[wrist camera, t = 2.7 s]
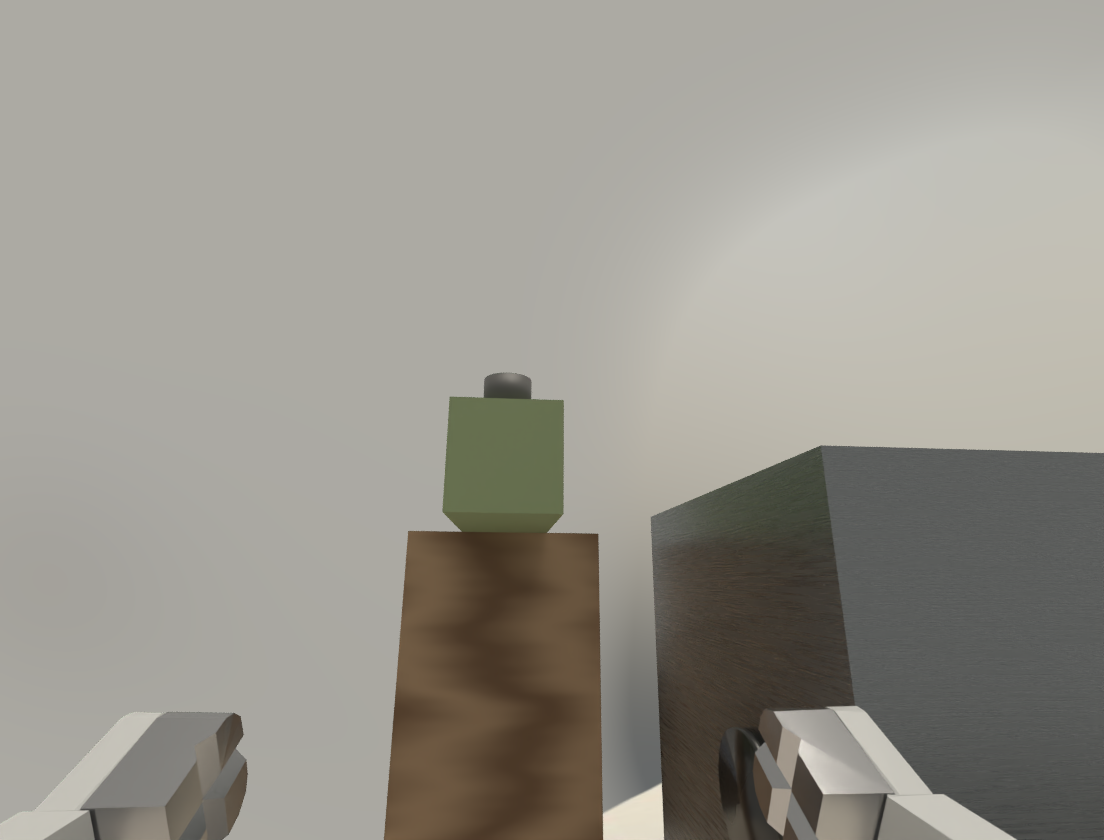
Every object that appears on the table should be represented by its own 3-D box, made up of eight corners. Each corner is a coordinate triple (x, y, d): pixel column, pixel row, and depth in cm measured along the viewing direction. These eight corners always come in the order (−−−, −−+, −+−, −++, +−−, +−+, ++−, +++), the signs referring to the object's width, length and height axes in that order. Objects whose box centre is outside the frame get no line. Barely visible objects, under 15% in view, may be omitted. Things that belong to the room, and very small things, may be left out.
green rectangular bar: (442, 511, 18) (451, 364, 19) (474, 544, 36) (478, 467, 38) (563, 513, 18) (563, 368, 20) (535, 545, 37) (536, 468, 38)
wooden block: (346, 1313, 18) (408, 530, 26) (401, 1062, 28) (435, 543, 35) (609, 1290, 19) (598, 533, 26) (575, 1052, 29) (573, 545, 36)
